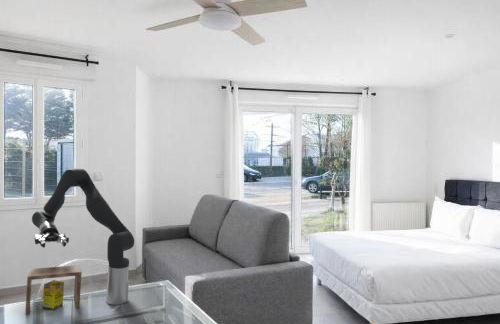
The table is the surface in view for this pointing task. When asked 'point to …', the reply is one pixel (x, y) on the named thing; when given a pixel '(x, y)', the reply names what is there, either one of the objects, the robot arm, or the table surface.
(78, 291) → the walnut shelf
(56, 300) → the supplement box
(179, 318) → the table surface
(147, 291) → the table surface
